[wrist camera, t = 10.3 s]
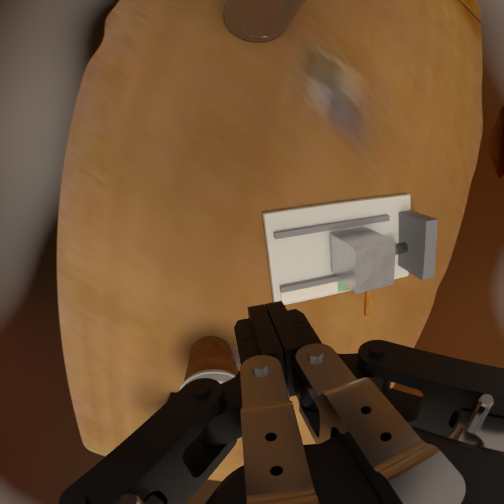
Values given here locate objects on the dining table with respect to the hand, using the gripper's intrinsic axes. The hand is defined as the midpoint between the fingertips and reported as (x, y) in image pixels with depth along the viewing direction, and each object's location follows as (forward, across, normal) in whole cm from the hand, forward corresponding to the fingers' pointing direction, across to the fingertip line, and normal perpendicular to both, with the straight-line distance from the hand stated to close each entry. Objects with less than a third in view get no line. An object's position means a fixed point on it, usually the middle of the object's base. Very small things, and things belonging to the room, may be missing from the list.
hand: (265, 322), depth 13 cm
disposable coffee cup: (+29, +6, +22) cm, 37 cm away
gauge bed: (+29, -17, +8) cm, 35 cm away
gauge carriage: (+28, -20, +10) cm, 35 cm away
